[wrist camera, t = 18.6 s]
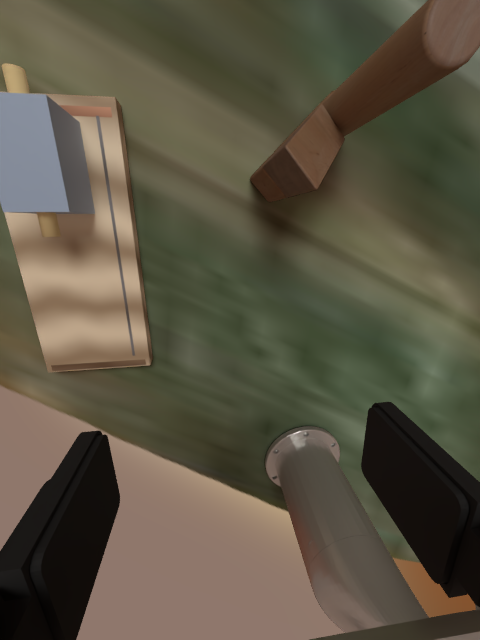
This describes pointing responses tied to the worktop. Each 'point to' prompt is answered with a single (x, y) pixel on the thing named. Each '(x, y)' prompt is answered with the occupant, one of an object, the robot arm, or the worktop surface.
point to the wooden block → (373, 93)
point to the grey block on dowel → (40, 156)
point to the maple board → (89, 258)
